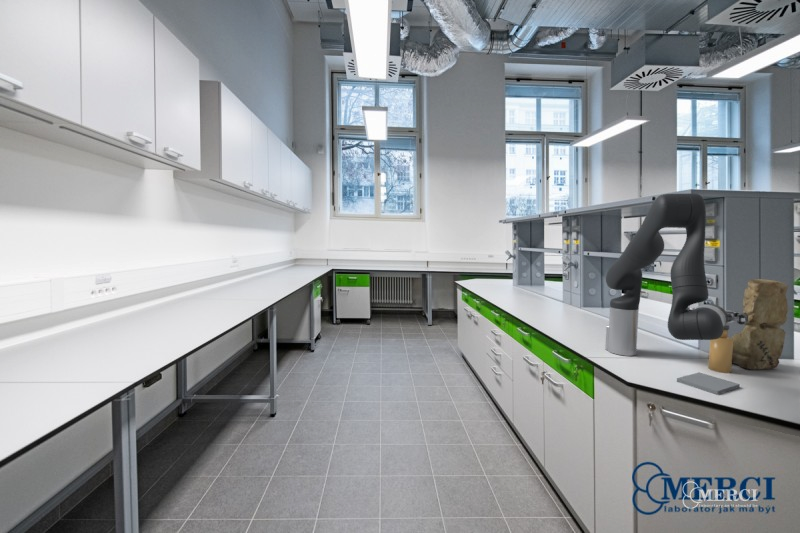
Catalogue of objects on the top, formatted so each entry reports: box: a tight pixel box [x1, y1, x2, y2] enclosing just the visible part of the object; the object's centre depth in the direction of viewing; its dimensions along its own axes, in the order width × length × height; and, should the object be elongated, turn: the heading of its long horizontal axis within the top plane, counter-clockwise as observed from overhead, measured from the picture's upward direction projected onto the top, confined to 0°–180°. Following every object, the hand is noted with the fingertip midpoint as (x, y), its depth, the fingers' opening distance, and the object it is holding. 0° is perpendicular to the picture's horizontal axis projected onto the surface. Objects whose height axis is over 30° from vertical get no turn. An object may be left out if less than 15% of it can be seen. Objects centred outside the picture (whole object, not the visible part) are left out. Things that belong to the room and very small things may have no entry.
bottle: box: [707, 324, 733, 374], centre depth 116 cm, size 6×6×15 cm
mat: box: [676, 371, 741, 396], centre depth 104 cm, size 10×12×1 cm
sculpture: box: [731, 278, 789, 371], centre depth 118 cm, size 12×9×30 cm
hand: (717, 312), depth 108 cm, fingers open, 8 cm apart
